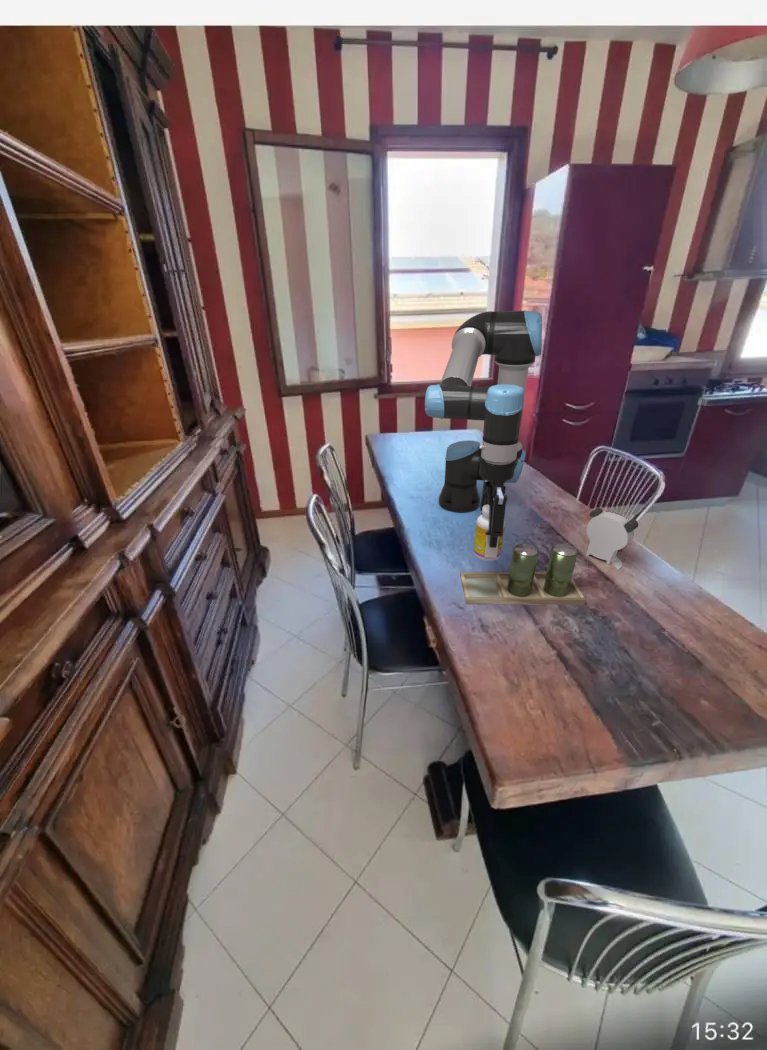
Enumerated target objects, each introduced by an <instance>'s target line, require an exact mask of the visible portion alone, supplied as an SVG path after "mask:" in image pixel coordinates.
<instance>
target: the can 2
mask: <svg viewBox="0 0 767 1050" xmlns="http://www.w3.org/2000/svg"><path fill="white" fill-rule="evenodd" d="M578 554H579V553H578V550H577V549H576V548H575V547H574V546H572V545H570V544H567V543H556V544H554V545H553V546H551V550H550V554H549V559H548V564H547V568H546V572H547V573H546V578H545V583H544V591H545V592H546V593H547V594H549V595H551V596H554V597H565V596H567V595H568V591H569V587H570V583H571V579H572V578H573V574H574V571H575V566H576V562H577V557H578Z"/></svg>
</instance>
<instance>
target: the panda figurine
mask: <svg viewBox="0 0 767 1050" xmlns="http://www.w3.org/2000/svg"><path fill="white" fill-rule="evenodd" d="M589 517H590V518H591V519H590V520H589V522H588V523H587V527H586V534H587V537H588V539H589V543H588V544H589V545H588V548H587V551H586V554H585V556H586V557H589V556H590V555H591V556H593V557H595V558H598V559H600V560H603V561H606V565H610V564H611V563H612V565H613V566H614V567H615V569H616V570H617V571H620V570H621V569H622V566H623V562H622V561H621V560H620V558H618V556H617V554H618V553H620V552H621V551H622V550H623V549H624V548H625V547H626V546H627V545H628V544H629V543H630V542H632V541H633V538H634V530H636V529H637V528H638V527H639V522H638V520H637V519H635V518H632V519H630V520H628V519H627V518H625V517H624V516H622V515H620V514H617V513H614V512H610V511H609V512H608V511H605V512H604V511H603V509H602V508H601V507H596V508H595V509H593V510H592V511H590V513H589Z"/></svg>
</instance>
